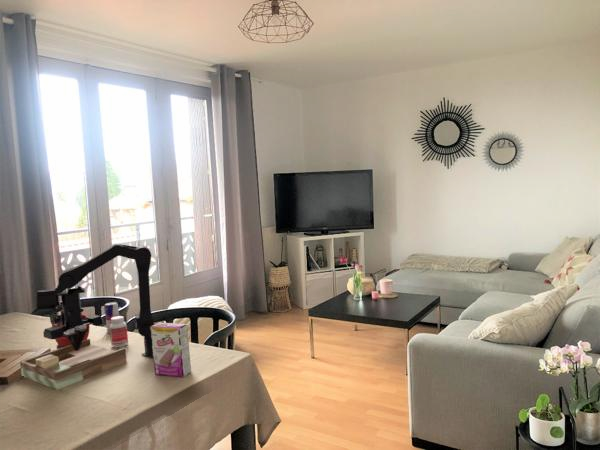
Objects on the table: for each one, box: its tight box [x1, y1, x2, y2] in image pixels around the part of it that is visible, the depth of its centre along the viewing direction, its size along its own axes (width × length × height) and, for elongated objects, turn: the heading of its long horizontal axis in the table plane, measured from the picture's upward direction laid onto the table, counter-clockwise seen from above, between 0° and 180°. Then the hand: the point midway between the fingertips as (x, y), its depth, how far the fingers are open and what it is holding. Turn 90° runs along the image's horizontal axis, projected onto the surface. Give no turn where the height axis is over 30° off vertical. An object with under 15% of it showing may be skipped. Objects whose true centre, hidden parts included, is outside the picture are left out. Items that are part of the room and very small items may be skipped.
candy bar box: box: [150, 321, 192, 378], centre depth 161 cm, size 11×5×16 cm, turn 71°
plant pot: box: [51, 313, 90, 350], centre depth 192 cm, size 13×13×12 cm
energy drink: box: [104, 301, 120, 333], centre depth 212 cm, size 5×5×12 cm
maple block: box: [36, 354, 60, 371], centre depth 164 cm, size 5×5×4 cm
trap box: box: [19, 338, 128, 391], centre depth 171 cm, size 23×25×5 cm
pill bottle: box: [110, 315, 129, 348], centre depth 193 cm, size 6×6×11 cm
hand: (76, 350), depth 172 cm, fingers closed
